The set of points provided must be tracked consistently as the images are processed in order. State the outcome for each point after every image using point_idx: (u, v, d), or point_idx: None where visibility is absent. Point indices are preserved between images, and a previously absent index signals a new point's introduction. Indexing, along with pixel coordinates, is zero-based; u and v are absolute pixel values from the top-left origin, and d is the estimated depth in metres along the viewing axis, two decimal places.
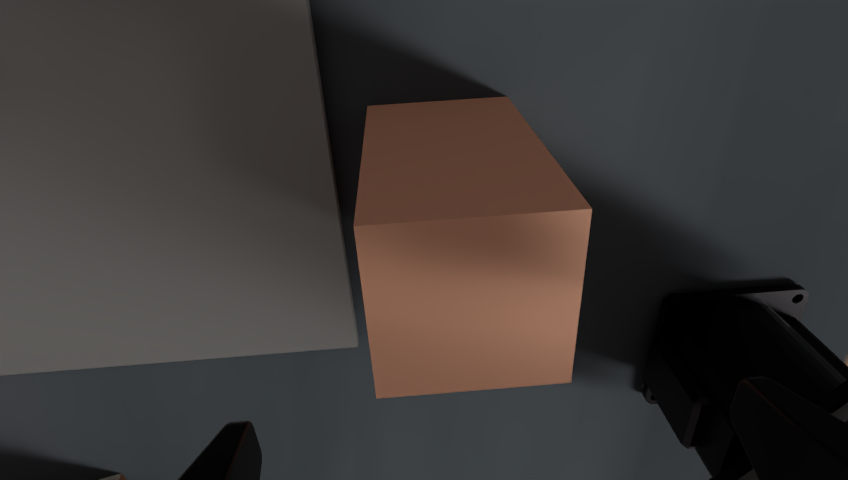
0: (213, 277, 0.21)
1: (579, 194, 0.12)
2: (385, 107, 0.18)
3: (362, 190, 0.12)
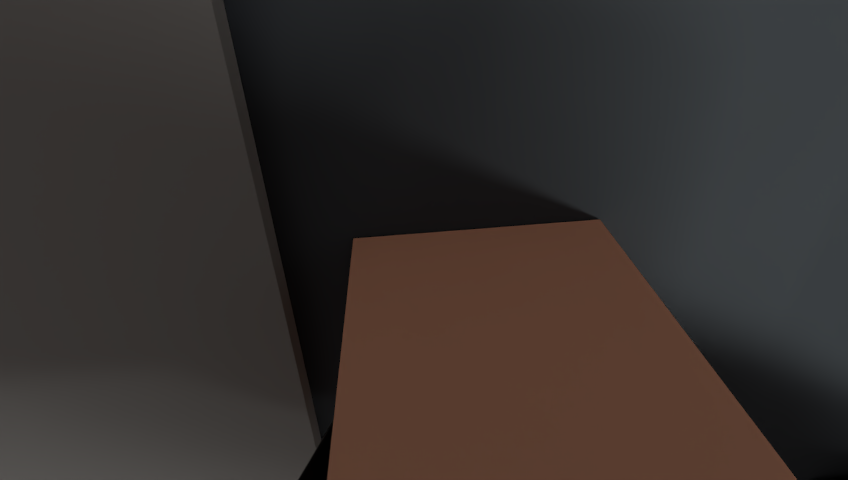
0: None
1: None
2: (385, 246, 0.10)
3: None
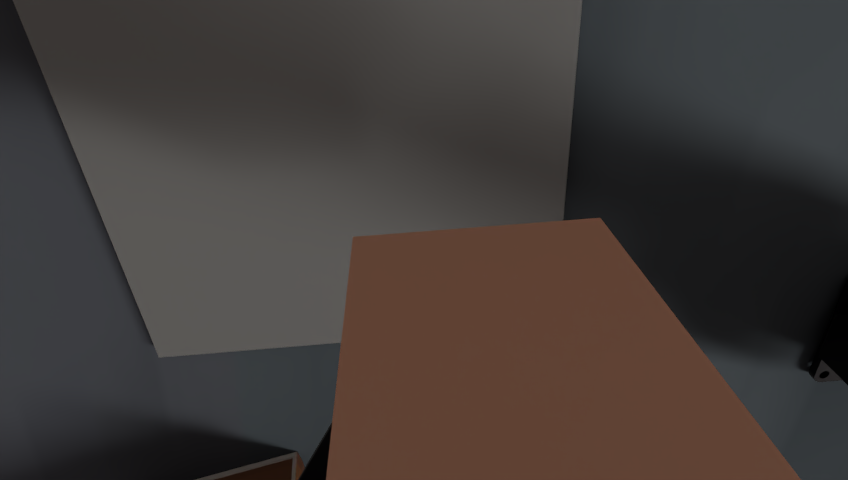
0: None
1: None
2: (385, 245, 0.10)
3: None
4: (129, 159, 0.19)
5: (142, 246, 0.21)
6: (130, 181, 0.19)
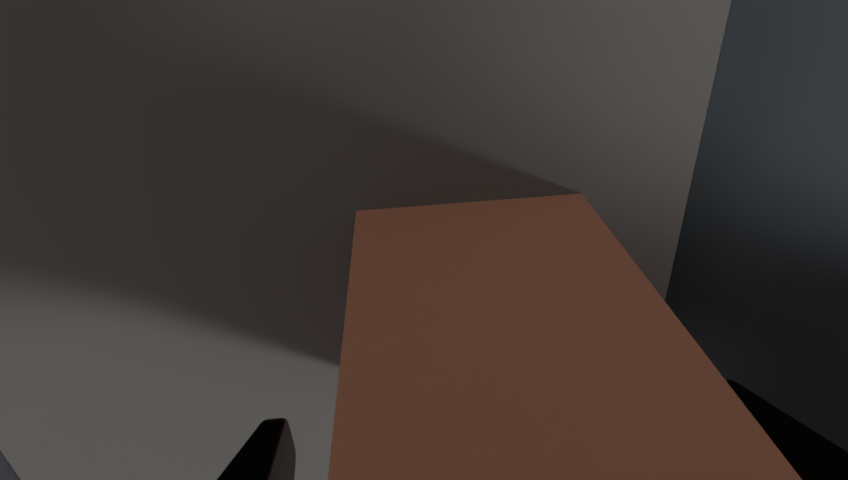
0: None
1: None
2: (385, 217, 0.11)
3: None
4: None
5: (13, 403, 0.14)
6: None
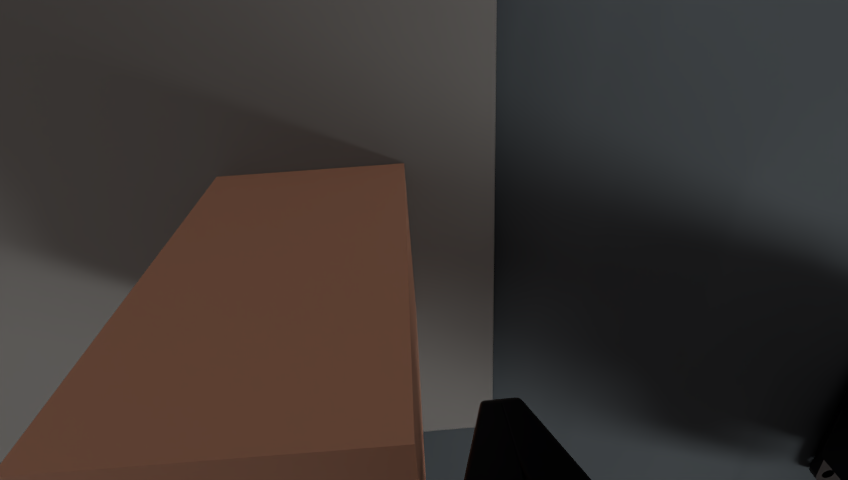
0: None
1: (409, 398, 0.07)
2: (237, 181, 0.14)
3: (78, 370, 0.08)
4: None
5: None
6: None
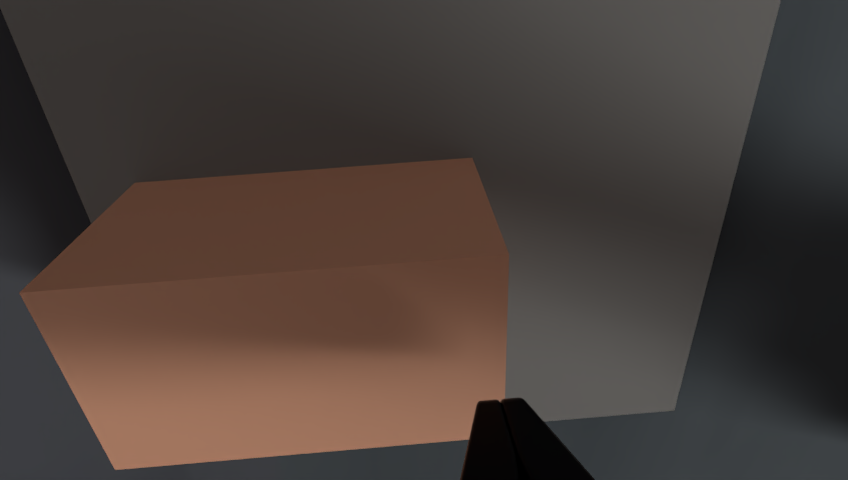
0: (539, 334, 0.17)
1: (59, 288, 0.10)
2: (460, 167, 0.14)
3: (199, 179, 0.14)
4: None
5: None
6: None
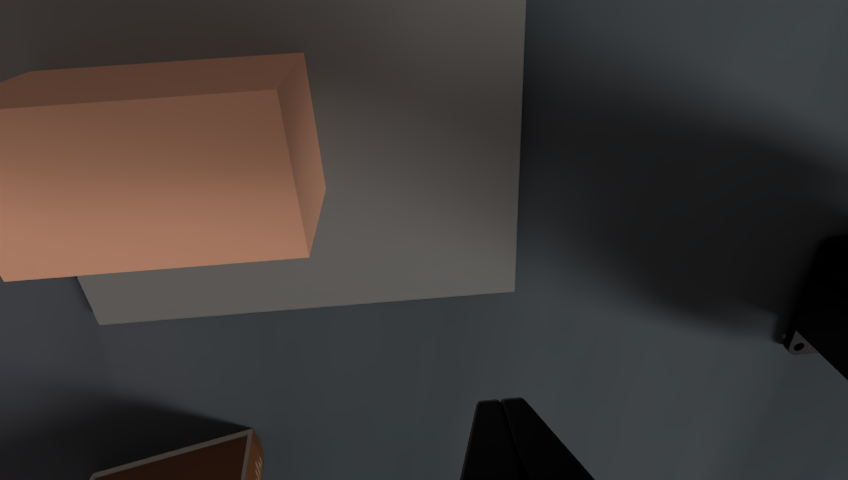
0: (385, 215, 0.21)
1: None
2: (288, 56, 0.17)
3: (82, 68, 0.17)
4: None
5: None
6: None
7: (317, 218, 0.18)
